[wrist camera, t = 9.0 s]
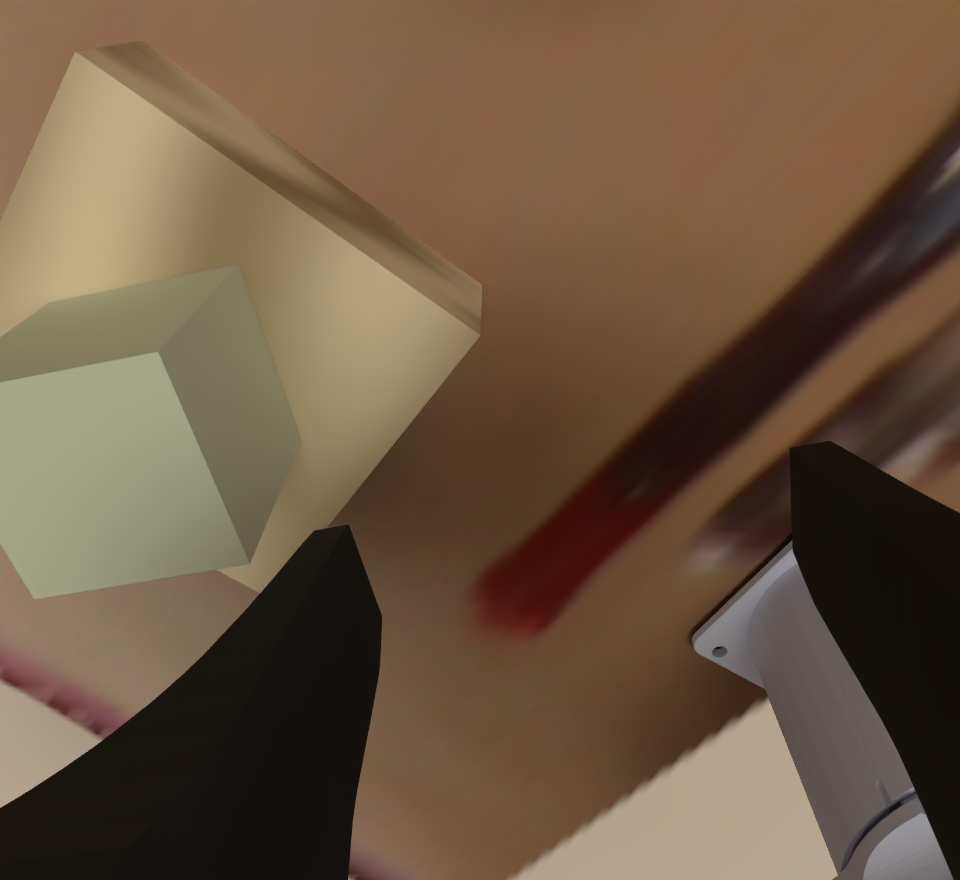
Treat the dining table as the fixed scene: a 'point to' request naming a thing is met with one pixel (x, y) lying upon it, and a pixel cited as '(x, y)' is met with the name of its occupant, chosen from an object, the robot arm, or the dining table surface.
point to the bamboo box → (240, 263)
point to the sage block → (140, 434)
